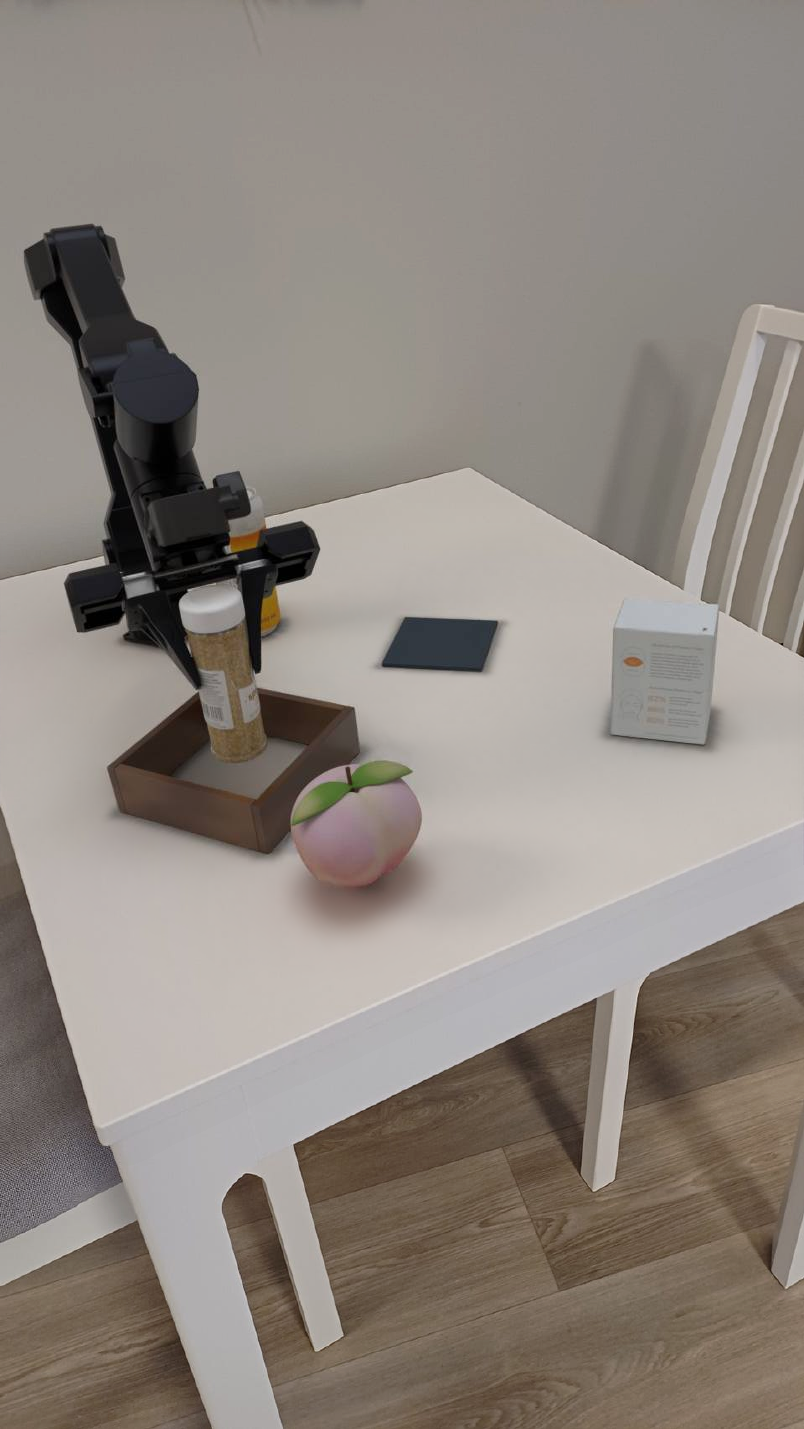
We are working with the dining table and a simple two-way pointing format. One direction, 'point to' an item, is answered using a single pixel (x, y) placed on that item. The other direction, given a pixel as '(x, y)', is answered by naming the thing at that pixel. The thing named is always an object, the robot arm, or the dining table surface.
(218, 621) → the sprinkles bottle
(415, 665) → the slate mat
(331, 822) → the decorative fruit
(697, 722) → the small box
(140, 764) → the walnut box
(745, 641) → the dining table surface
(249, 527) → the beer can
